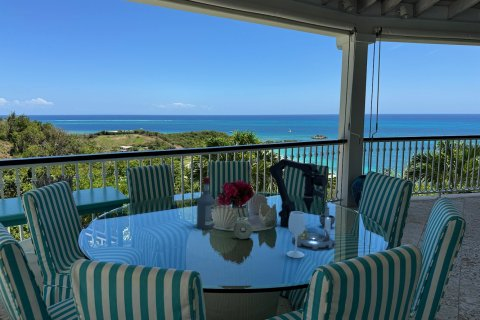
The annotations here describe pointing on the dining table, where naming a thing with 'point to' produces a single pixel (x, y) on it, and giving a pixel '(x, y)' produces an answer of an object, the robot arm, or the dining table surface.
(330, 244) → the sprocket
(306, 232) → the link block
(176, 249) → the dining table surface
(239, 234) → the stone disc
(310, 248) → the base mat
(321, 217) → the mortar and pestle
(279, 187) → the robot arm
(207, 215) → the liquor
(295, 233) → the wineglass
